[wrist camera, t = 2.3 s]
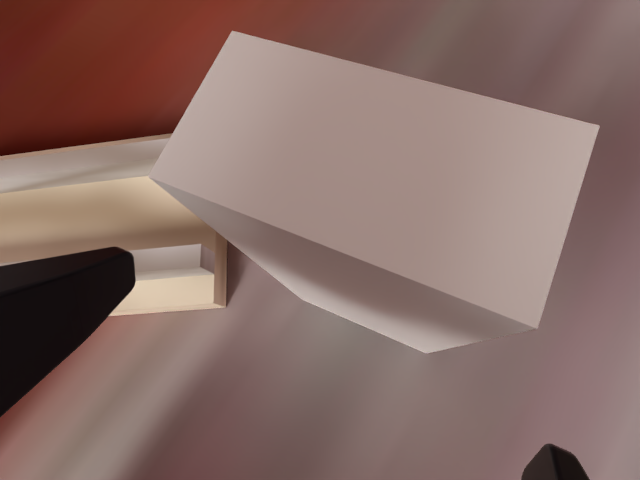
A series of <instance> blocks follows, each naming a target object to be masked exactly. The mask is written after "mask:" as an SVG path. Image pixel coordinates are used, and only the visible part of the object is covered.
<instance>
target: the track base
mask: <svg viewBox="0 0 640 480" xmlns="http://www.w3.org/2000/svg"><path fill="white" fill-rule="evenodd" d="M172 134H173V133H171V134H164V135H156V136H149V137H141V138H134V139H126V140H119V141H111V142H104V143H96V144H89V145H81V146H74V147H66V148H59V149H51V150H43V151H36V152H28V153H21V154H13V155H6V156H0V266H4V265H9V264H15V263H21V262H27V261H32V260H38V259H44V258H50V257H55V256H61V255H67V254H73V253H79V252H84V251H90V250H96V249H102V248H107V247H114V246H116V247H120V248H122V249H124V250H127V251H129V252H131V253H132V255H133V256H134V264H135V276H136V282H135V286H134V288H133V289H132V291H131V292H130V293H129V294H128V295H127V296H126V297H125V299H124V300H123V301H122V302H121V303H120V304H119V305H118V306H117V307H116V308H115V309H114V310H113V311H112V313H111V314H110V315H109V316H117V315H131V314H145V313H158V312H172V311H185V310H199V309H212V308H226V282H227V239H225V238H224V237H223V236H222V235H220V234H219V233H218V232H216V231H215V230H214V229H213V228H211V227H210V226H209V225H208V224H206V223H205V222H204V221H203V220H201V219H200V218H199V217H198V216H196V215H195V214H194V213H193V212H191V211H190V210H189V209H188V208H186V207H185V206H184V205H183V204H181V203H180V202H179V201H178V200H176V199H175V198H174V197H173V196H171V195H170V194H169V193H168V192H166V191H165V190H164V189H163V188H161V187H160V186H159V185H158V184H156V183H155V182H154V181H153V180H151V179H150V178H149V177H148V175H149V173H150V172H151V170H152V168H153V167H154V165H155V163H156V161H157V160H158V158H159V156H160V154H161V153H162V151H163V149H164V148H165V146H166V144H167V142H168V141H169V139H170V137H171V136H172Z"/></svg>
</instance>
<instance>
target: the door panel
mask: <svg viewBox="0 0 640 480" xmlns="http://www.w3.org/2000/svg"><path fill="white" fill-rule="evenodd" d="M599 127H600V126H599V125H595V124H591V123H587V122H583V121H580V120H576V119H572V118H568V117H564V116H560V115H556V114H552V113H549V112H545V111H541V110H537V109H533V108H529V107H525V106H522V105H518V104H514V103H510V102H506V101H502V100H498V99H494V98H491V97H487V96H483V95H479V94H475V93H471V92H467V91H463V90H460V89H456V88H452V87H448V86H444V85H440V84H436V83H432V82H429V81H425V80H421V79H417V78H413V77H409V76H405V75H401V74H398V73H394V72H390V71H386V70H382V69H378V68H374V67H371V66H367V65H363V64H359V63H355V62H351V61H347V60H343V59H340V58H336V57H332V56H328V55H324V54H320V53H316V52H312V51H309V50H305V49H301V48H297V47H293V46H289V45H285V44H281V43H278V42H274V41H270V40H266V39H262V38H258V37H254V36H251V35H247V34H243V33H239V32H235V31H232V32H231V34H230V35H229V37H228V39H227V41H226V42H225V44H224V46H223V48H222V49H221V51H220V53H219V54H218V56H217V58H216V60H215V61H214V63H213V65H212V67H211V68H210V70H209V72H208V73H207V75H206V77H205V79H204V80H203V82H202V84H201V86H200V87H199V89H198V91H197V92H196V94H195V96H194V98H193V99H192V101H191V103H190V104H189V106H188V108H187V110H186V111H185V113H184V115H183V117H182V118H181V120H180V122H179V123H178V125H177V127H176V129H175V130H174V132H173V134H172V136H171V137H170V139H169V141H168V142H167V144H166V146H165V148H164V149H163V151H162V153H161V154H160V156H159V158H158V160H157V161H156V163H155V165H154V167H153V168H152V170H151V172H150V173H149V175H148V177H149V178H150V179H151V180H153V181H154V182H155V183H156V184H158V185H159V186H160V187H161V188H163V189H164V190H165V191H166V192H168V193H169V194H170V195H171V196H173V197H174V198H175V199H176V200H178V201H179V202H180V203H181V204H183V205H184V206H185V207H186V208H188V209H189V210H190V211H191V212H193V213H194V214H195V215H196V216H198V217H199V218H200V219H201V220H203V221H204V222H205V223H206V224H208V225H209V226H210V227H211V228H213V229H214V230H215V231H216V232H218V233H219V234H220V235H222V236H223V237H224V238H225V239H227V240H228V241H229V242H230V243H232V244H233V245H234V246H235V247H237V248H238V249H239V250H240V251H242V252H243V253H244V254H245V255H247V256H248V257H249V258H250V259H252V260H253V261H254V262H255V263H257V264H258V265H259V266H260V267H262V268H263V269H264V270H265V271H267V272H268V273H269V274H270V275H272V276H273V277H274V278H275V279H277V280H278V281H279V282H280V283H282V284H283V285H284V286H285V287H287V288H288V289H289V290H290V291H292V292H293V293H294V294H295V295H297V296H298V297H299V298H301V299H302V300H304V301H306V302H308V303H311V304H313V305H315V306H318V307H320V308H322V309H325V310H327V311H329V312H331V313H334V314H336V315H338V316H341V317H343V318H345V319H348V320H350V321H352V322H354V323H357V324H359V325H361V326H364V327H366V328H368V329H371V330H373V331H375V332H377V333H380V334H382V335H384V336H387V337H389V338H391V339H394V340H396V341H398V342H400V343H403V344H405V345H407V346H410V347H412V348H414V349H417V350H419V351H421V352H424V353H426V354H427V353H431V352H436V351H440V350H445V349H449V348H454V347H458V346H463V345H467V344H472V343H476V342H481V341H485V340H490V339H494V338H499V337H503V336H508V335H512V334H517V333H521V332H526V331H530V330H535V329H538V326H539V322H540V319H541V316H542V313H543V309H544V306H545V303H546V299H547V296H548V293H549V290H550V286H551V283H552V280H553V277H554V273H555V270H556V267H557V264H558V260H559V257H560V254H561V251H562V247H563V244H564V241H565V237H566V234H567V231H568V228H569V224H570V221H571V218H572V215H573V211H574V208H575V205H576V202H577V198H578V195H579V192H580V189H581V185H582V182H583V179H584V176H585V172H586V169H587V166H588V162H589V159H590V156H591V153H592V149H593V146H594V143H595V140H596V136H597V133H598V130H599Z"/></svg>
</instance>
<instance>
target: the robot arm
mask: <svg viewBox="0 0 640 480" xmlns="http://www.w3.org/2000/svg"><path fill="white" fill-rule="evenodd" d="M135 282H136V276H135V264H134V256H133V255H132V253H131V252H129V251H127V250H124V249H122V248H120V247H116V246H114V247H107V248H102V249H96V250H90V251H84V252H79V253H73V254H67V255H61V256H55V257H50V258H44V259H38V260H32V261H27V262H21V263H15V264H9V265H4V266H0V417H1V416H2V415H3V414H4V413H6V412H7V411H8V410H9V409H10V408H11V407H12V406H13V405H14V404H16V403H17V402H18V401H19V400H20V399H21V398H22V397H23V396H24V395H26V394H27V393H28V392H29V391H30V390H31V389H32V388H33V387H34V386H36V385H37V384H38V383H39V382H40V381H41V380H42V379H43V378H44V377H46V376H47V375H48V374H49V373H50V372H51V371H52V370H53V369H55V368H56V367H57V366H58V365H59V364H60V363H61V362H62V361H63V360H65V359H66V358H67V357H68V356H69V355H70V354H71V353H72V352H73V351H75V350H76V349H77V348H78V347H79V346H80V345H81V344H82V343H83V342H84V341H85V340H86V339H87V338H88V337H89V336H90V335H91V334H92V333H93V332H94V331H95V330H96V329H97V328H98V327H99V326H100V324H101V323H102V322H103V321H104V320H105V319H106V318H107V317H108V316H109V315H110V314H111V313H112V311H113V310H114V309H115V308H116V307H117V306H118V305H119V304H120V303H121V302H122V301H123V300H124V299H125V297H126V296H127V295H128V294H129V293H130V292H131V291H132V289H133V288H134V286H135ZM521 480H590V479H589V477H588V476H587V474H586V472H585V471H584V469H583V467H582V466H581V464H580V462H579V461H578V459H577V458H576V457H575V456H574V455H573V454H572V453H571V452H569V451H566V450H564V449H562V448H560V447H558V446H555V445H553V444H546V445H544V446H543V447H542V448H541V449H540V451H539V452H538V453H537V454H536V455H535V457H534V458H533V459H532V460H531V461H530V463H529V464H528V465H527V466H526V468H525V469H524V472H523V474H522V478H521Z"/></svg>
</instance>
